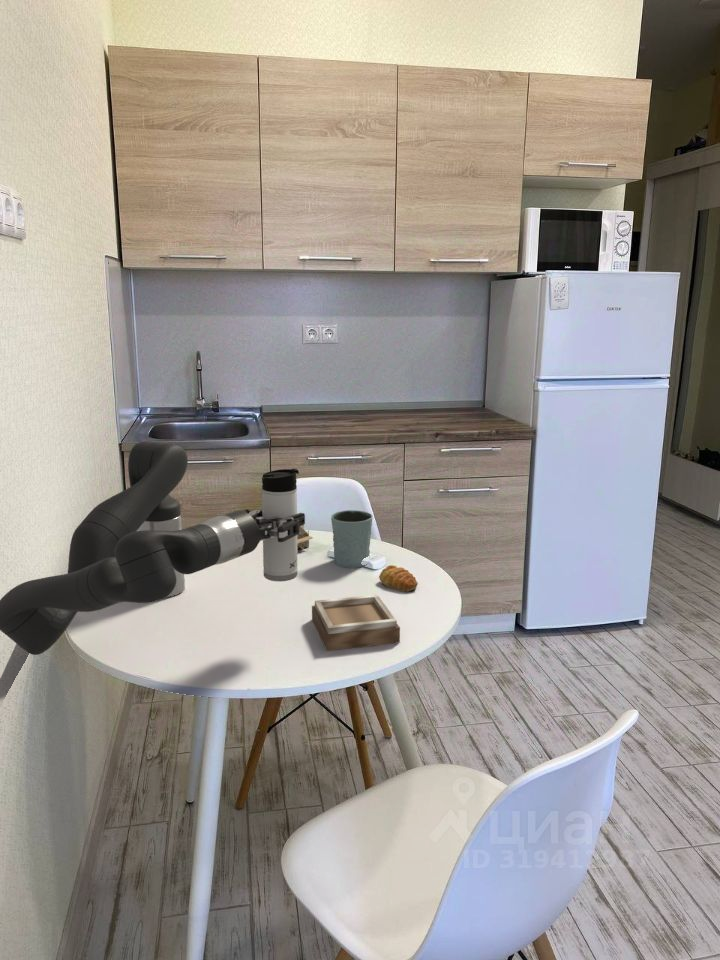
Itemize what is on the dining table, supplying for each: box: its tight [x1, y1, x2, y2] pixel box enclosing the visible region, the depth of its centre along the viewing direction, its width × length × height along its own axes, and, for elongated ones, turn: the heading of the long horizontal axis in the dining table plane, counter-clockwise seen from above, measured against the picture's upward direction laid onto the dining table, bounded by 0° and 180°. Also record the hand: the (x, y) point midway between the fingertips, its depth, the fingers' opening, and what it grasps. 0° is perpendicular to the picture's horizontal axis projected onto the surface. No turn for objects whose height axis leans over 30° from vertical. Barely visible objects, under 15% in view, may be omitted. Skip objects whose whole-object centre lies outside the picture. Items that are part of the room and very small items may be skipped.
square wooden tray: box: [311, 594, 401, 652], centre depth 137 cm, size 14×14×4 cm
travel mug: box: [261, 468, 300, 582], centre depth 129 cm, size 6×7×20 cm
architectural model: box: [297, 524, 314, 550], centre depth 184 cm, size 3×7×7 cm, turn 140°
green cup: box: [331, 509, 373, 569], centre depth 174 cm, size 10×10×12 cm
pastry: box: [378, 564, 419, 592], centre depth 161 cm, size 9×7×4 cm
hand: (288, 515), depth 131 cm, fingers closed on travel mug, 6 cm apart
